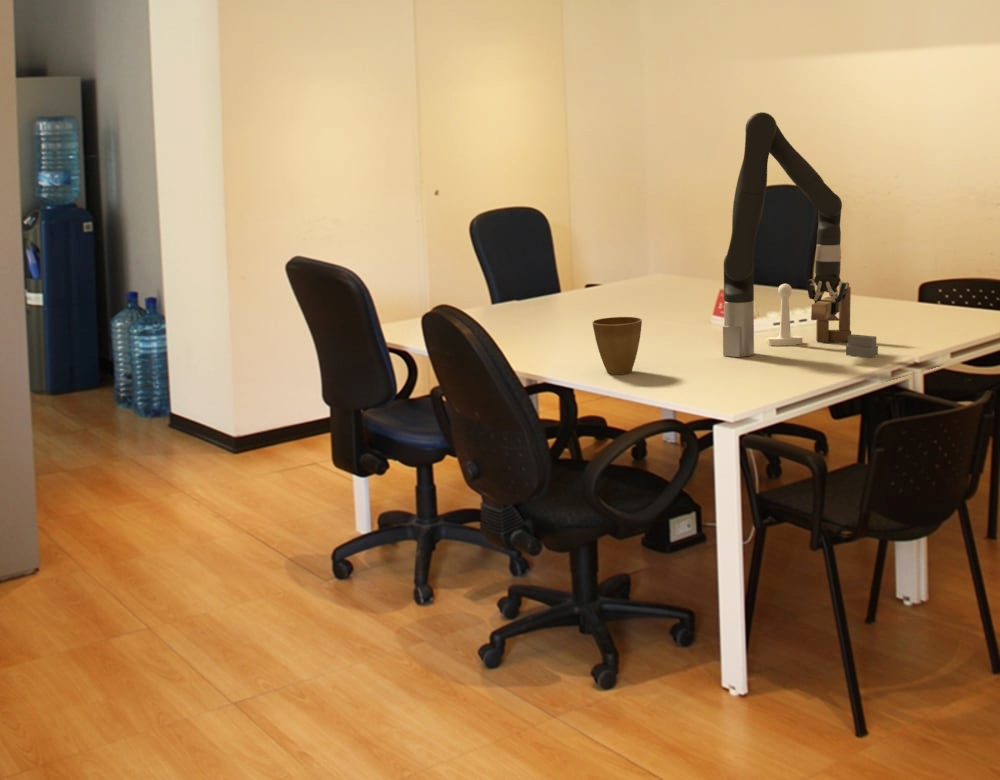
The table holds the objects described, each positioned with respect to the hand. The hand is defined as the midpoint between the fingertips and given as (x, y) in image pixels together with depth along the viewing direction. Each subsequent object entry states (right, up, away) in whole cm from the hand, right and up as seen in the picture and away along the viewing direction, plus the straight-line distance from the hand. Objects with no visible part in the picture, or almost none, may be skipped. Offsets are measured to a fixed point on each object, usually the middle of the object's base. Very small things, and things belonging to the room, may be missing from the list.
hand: (826, 313), depth 387 cm
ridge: (+11, -13, -2) cm, 17 cm away
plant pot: (-65, -19, -9) cm, 68 cm away
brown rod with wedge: (+8, -8, +23) cm, 26 cm away
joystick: (-8, -9, +23) cm, 26 cm away
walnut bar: (0, -1, 0) cm, 0 cm away
